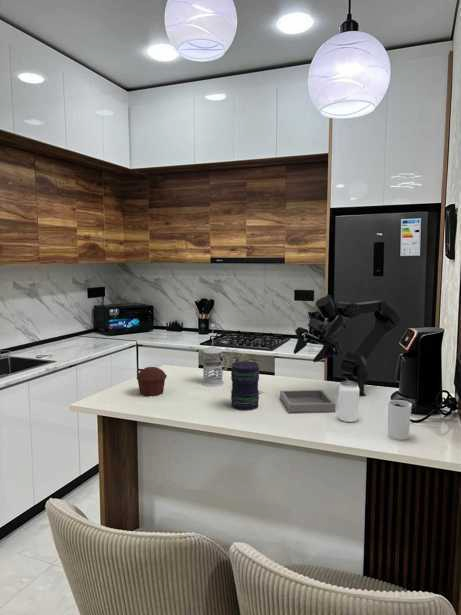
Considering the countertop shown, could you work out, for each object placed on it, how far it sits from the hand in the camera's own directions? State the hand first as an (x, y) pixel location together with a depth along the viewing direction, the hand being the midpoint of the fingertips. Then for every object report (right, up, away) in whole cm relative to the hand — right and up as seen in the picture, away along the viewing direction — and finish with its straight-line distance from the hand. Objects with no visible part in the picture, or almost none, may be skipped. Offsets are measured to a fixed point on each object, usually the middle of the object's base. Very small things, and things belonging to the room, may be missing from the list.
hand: (303, 357), depth 163 cm
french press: (-32, -14, +31) cm, 47 cm away
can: (+13, -19, -11) cm, 26 cm away
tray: (+1, -17, +3) cm, 18 cm away
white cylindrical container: (+24, -21, -25) cm, 41 cm away
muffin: (-56, -16, +17) cm, 61 cm away
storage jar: (-21, -18, +2) cm, 27 cm away
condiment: (-18, -16, +19) cm, 31 cm away
